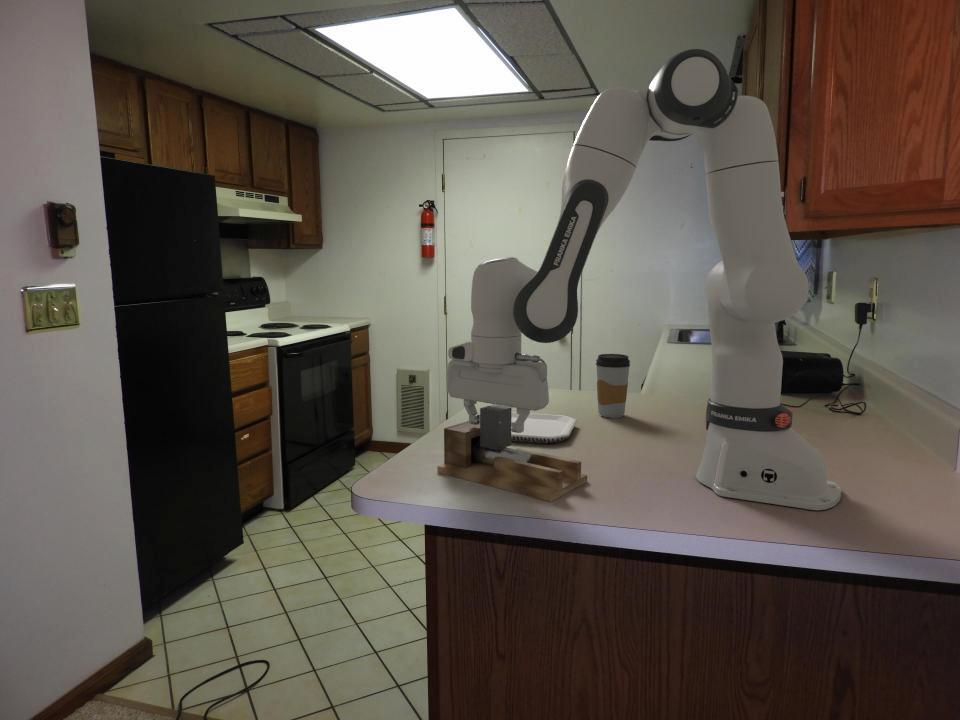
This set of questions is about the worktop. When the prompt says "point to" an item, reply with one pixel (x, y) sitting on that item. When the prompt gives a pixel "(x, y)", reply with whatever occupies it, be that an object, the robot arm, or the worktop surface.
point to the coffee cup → (612, 384)
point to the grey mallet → (496, 437)
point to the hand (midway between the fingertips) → (495, 427)
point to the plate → (543, 428)
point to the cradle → (509, 467)
